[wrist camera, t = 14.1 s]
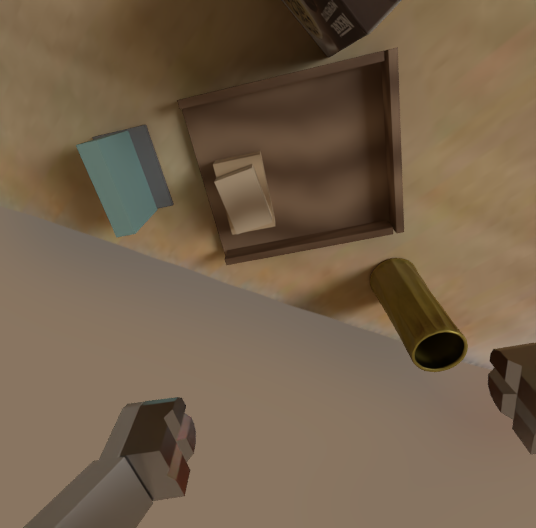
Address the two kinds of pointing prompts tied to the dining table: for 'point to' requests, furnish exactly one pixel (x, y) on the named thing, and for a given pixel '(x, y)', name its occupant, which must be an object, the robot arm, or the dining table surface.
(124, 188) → the teal rectangular block
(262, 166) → the offcut low
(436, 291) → the dining table surface
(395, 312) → the vase
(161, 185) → the mat
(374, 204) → the brown wooden tray
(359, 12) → the coffee box
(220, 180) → the offcut top
